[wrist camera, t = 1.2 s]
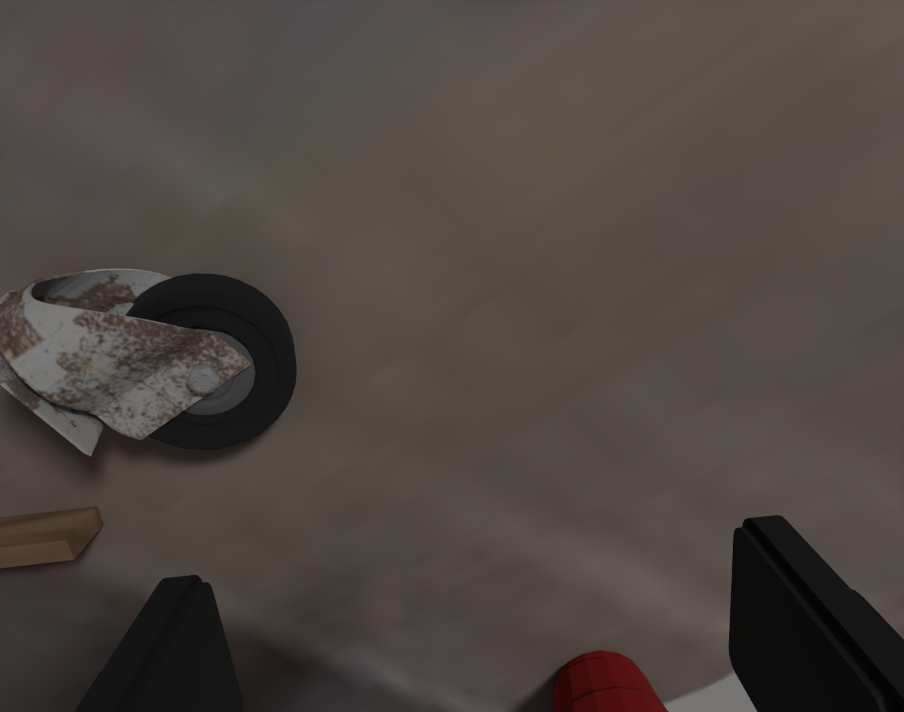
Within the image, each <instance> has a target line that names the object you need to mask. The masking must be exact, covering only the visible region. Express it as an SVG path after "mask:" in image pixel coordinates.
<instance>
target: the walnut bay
mask: <svg viewBox="0 0 904 712" xmlns="http://www.w3.org/2000/svg"><path fill="white" fill-rule="evenodd" d="M102 526H103V523H102V520H101V518H100V515H99V512H98V509H97V507H92V508H84V509H75V510H66V511H58V512H49V513H40V514H32V515H23V516H14V517H6V518H0V568H7V567H16V566H24V565H33V564H42V563H51V562H59V561H68V560H74V559H75V558H76V557H77V556H78V555H79V553H80V552H81V551H82V550H83V549H84V548H85V546H86V545H87V544H88V543H89V542H90V540H91V539H92V538H93V537H94V536H95V535H96V533H97V532H98V531H99V530H100V529H101V527H102Z"/></svg>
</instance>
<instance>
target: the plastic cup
mask: <svg viewBox="0 0 904 712" xmlns="http://www.w3.org/2000/svg"><path fill="white" fill-rule="evenodd" d="M553 712H668V711H667V709H666V708H665V707H664V705H663V704H662V703H661V701H660V700H659V698H658V696H657V695H656V693H655V692H654V690H653V688H652V687H651V685H650V683H649V682H648V680H647V678H646V677H645V676H644V674H643V673H642V672H641V670H640V669H639V668H638V667H637V666H636V665H635V664H634V662H633V661H632V660H630V659H629V658H627V657H625V656H623V655H621V654H619V653H614V652H606V651H598V652H593V653H587V654H583V655H581V656H579V657H577V658H576V659H574V660H572V661H570V662H568V663H567V665H566V666H565V667H564V668H563V669H562V670H561V671H560V672H559V673H558V676H557V679H556V682H555V685H554V693H553Z"/></svg>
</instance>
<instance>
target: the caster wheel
mask: <svg viewBox="0 0 904 712" xmlns="http://www.w3.org/2000/svg"><path fill="white" fill-rule="evenodd" d="M295 383H296V358H295V349H294V342H293V338H292V334H291V331H290V329H289V326H288V323H287V321H286V320H285V318H284V316H283V315H282V313H281V312H280V310H279V309H278V308H277V307H276V305H275V304H274V303H273V302H272V301H271V300H270V299H269V298H268V297H267V296H265V295H264V294H263V293H262V292H260V291H259V290H257V289H256V288H254V287H252V286H250V285H248V284H246V283H244V282H242V281H240V280H237V279H234V278H230V277H227V276H222V275H216V274H197V273H194V274H188V275H182V276H176V277H173V278H171V277H168V276H165V275H162V274H160V273H156V272H151V271H146V270H138V269H98V270H88V271H81V272H74V273H68V274H62V275H57V276H51V277H46V278H42V279H39V280H36V281H34V282H33V283H31V284H30V285H28V286H27V287H25V288H24V289H23V290H21V291H20V292H17V291H15V290H9V291H8V292H7V293H6V294H5V295H4V296H3V297H2V298H1V299H0V385H1V386H2V387H3V388H5V389H6V390H7V391H8V392H10V393H11V394H12V395H13V396H15V397H16V398H17V399H18V400H19V401H21V402H22V403H23V404H24V405H26V406H27V407H28V408H29V409H30V410H32V411H33V412H34V413H35V414H37V415H38V416H39V417H40V418H41V419H43V420H44V421H45V422H46V423H48V424H49V425H50V426H51V427H52V428H54V429H55V430H56V431H57V432H59V433H60V434H61V435H62V436H63V437H65V438H66V439H67V440H68V441H70V442H71V443H72V444H73V445H74V446H76V447H77V448H78V449H79V450H81V451H82V452H83V453H84V454H87V455H89V456H92V453H93V451H94V449H95V446H96V444H97V442H98V439H99V437H100V435H101V432H102V430H103V427H104V425H105V423H106V424H107V425H108V426H110V427H111V428H112V429H114V430H116V431H117V432H119V433H121V434H123V435H126V436H129V437H132V438H135V439H138V440H142V439H143V438H145V437H146V436H150V437H152V438H154V439H157V440H159V441H161V442H164V443H166V444H169V445H172V446H177V447H181V448H186V449H198V450H211V449H220V448H225V447H229V446H233V445H236V444H239V443H242V442H244V441H247V440H249V439H251V438H253V437H255V436H256V435H258V434H260V433H262V432H263V431H264V430H266V429H267V428H268V427H269V426H270V425H271V424H273V423H274V422H275V421H276V420H277V419H278V418H279V416H280V415H281V414H282V412H283V411H284V410H285V408H286V407H287V405H288V403H289V401H290V399H291V397H292V394H293V391H294V387H295Z"/></svg>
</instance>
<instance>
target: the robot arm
mask: <svg viewBox="0 0 904 712" xmlns="http://www.w3.org/2000/svg"><path fill="white" fill-rule="evenodd" d="M729 655H730V660H731V663H732V666H733V669H734V671H735V673H736V675H737V676H738V678H739V680H740V682H741V683H742V685H743V687H744V689H745V690H746V692H747V694H748V696H749V697H750V699H751V701H752V703H753V704H754V706H755V708H756V710H757V712H904V640H903V639H902V637H901V636H900V635H899V634H898V633H897V632H896V631H895V630H894V629H893V628H892V627H891V626H890V625H889V624H888V623H887V622H886V621H885V620H884V618H883V617H882V616H881V615H880V614H879V613H878V612H877V611H876V610H875V609H874V608H873V607H872V606H871V605H870V604H869V603H868V602H867V601H866V600H865V598H864V597H862V596H861V595H860V594H859V593H858V592H856V591H855V590H852V589H850V588H849V587H848V585H847V584H846V583H845V582H844V581H843V580H842V579H841V578H840V577H839V576H838V575H837V574H836V573H835V572H834V571H833V569H832V568H831V567H830V566H829V565H828V564H827V563H826V562H825V561H824V560H823V559H822V558H821V557H820V556H819V555H818V554H817V552H816V551H815V550H814V549H813V548H812V547H811V546H810V545H809V544H808V543H807V542H806V541H805V540H804V539H803V538H802V536H801V535H800V534H799V533H798V532H797V531H796V530H795V529H794V528H793V527H792V526H791V525H790V524H789V523H788V522H787V520H786V519H784V518H783V517H782V516H779V515H774V516H764V517H755V518H747V519H745V520H744V522H743V526H742V527H741V528H736V529H735V531H734V536H733V559H732V583H731V606H730V630H729ZM242 708H243V703H242V695H241V692H240V688H239V685H238V681H237V677H236V674H235V670H234V666H233V663H232V659H231V655H230V652H229V648H228V644H227V641H226V637H225V634H224V630H223V626H222V623H221V619H220V615H219V612H218V608H217V604H216V601H215V597H214V593H213V590H212V587H211V585H210V584H209V583H207V582H204V583H202V580H201V579H200V577H199V576H197V575H190V576H180V577H170V578H164V579H162V580H161V581H160V582H159V584H158V585H157V587H156V588H155V590H154V591H153V593H152V594H151V596H150V598H149V599H148V601H147V602H146V604H145V605H144V607H143V608H142V610H141V611H140V613H139V615H138V616H137V618H136V619H135V621H134V622H133V624H132V625H131V627H130V628H129V630H128V632H127V633H126V635H125V636H124V638H123V639H122V641H121V642H120V644H119V645H118V647H117V649H116V650H115V652H114V653H113V655H112V656H111V658H110V659H109V661H108V662H107V664H106V666H105V667H104V669H103V670H102V671H101V672H100V674H99V675H98V677H97V678H96V680H95V681H94V683H93V684H92V686H91V687H90V689H89V690H88V692H87V694H86V695H85V697H84V698H83V700H82V701H81V703H80V704H79V706H78V707H77V709H76V711H75V712H242Z"/></svg>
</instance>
